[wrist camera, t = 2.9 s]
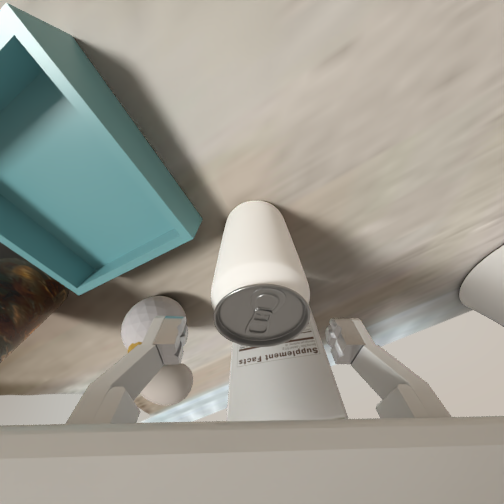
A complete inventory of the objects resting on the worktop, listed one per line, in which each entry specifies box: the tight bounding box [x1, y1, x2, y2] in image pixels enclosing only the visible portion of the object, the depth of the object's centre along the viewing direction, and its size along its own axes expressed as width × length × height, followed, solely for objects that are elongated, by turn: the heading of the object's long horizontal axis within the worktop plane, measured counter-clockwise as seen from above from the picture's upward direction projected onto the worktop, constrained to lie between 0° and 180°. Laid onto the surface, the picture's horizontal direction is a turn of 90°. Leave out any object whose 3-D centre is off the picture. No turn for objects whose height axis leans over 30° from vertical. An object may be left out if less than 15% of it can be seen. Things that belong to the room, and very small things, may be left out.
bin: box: [0, 3, 203, 295], centre depth 17 cm, size 15×15×4 cm
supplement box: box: [226, 305, 348, 421], centre depth 22 cm, size 9×9×15 cm
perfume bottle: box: [121, 296, 193, 405], centre depth 22 cm, size 8×10×12 cm
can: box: [211, 201, 310, 347], centre depth 16 cm, size 6×6×12 cm
